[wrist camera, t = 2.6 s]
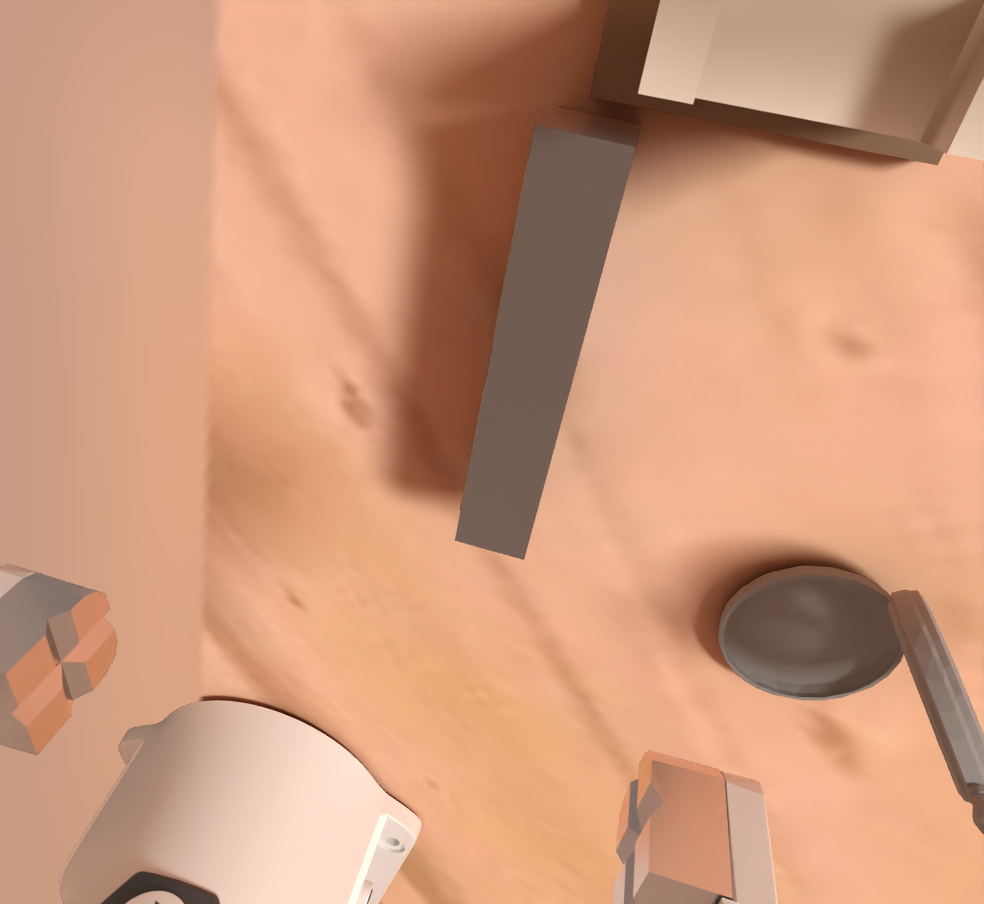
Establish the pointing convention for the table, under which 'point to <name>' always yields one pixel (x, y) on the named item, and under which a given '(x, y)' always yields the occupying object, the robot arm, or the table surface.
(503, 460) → the long grey beam
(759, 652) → the pocket watch
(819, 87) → the display stand
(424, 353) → the table surface
